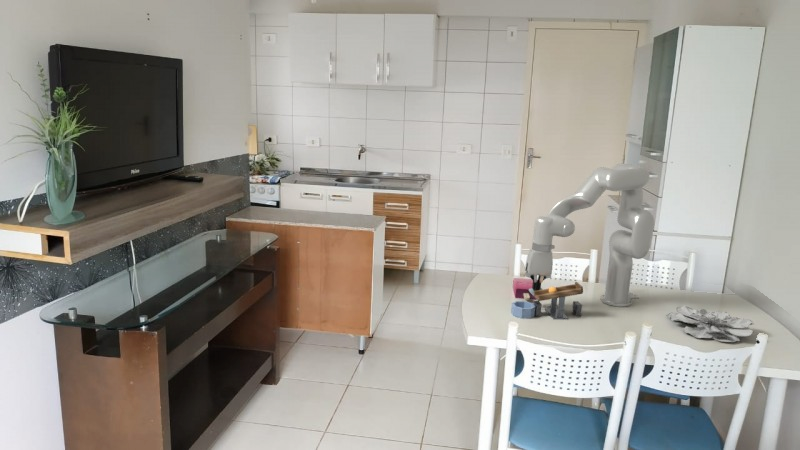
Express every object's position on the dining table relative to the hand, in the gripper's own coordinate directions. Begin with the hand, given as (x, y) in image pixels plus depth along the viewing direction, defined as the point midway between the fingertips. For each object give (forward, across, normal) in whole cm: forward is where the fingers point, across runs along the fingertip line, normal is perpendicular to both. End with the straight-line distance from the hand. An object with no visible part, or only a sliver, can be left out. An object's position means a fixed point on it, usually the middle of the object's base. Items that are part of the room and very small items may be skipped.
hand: (535, 290), depth 236 cm
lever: (-1, -7, +3) cm, 8 cm away
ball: (-2, -4, +6) cm, 8 cm away
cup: (+8, +7, +6) cm, 12 cm away
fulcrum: (+8, -7, +6) cm, 12 cm away
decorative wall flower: (+7, -64, +19) cm, 67 cm away
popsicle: (+8, -1, -16) cm, 18 cm away
